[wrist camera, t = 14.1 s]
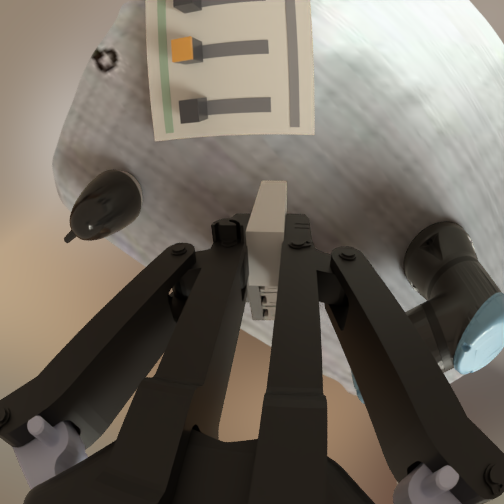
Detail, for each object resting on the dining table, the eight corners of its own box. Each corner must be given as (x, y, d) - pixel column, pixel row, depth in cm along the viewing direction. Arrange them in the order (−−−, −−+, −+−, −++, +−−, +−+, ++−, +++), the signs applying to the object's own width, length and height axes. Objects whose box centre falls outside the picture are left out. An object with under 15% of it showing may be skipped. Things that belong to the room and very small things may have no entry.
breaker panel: (305, -17, 26) (308, -40, 18) (311, 130, 39) (316, 140, 31) (159, -1, 29) (132, -14, 21) (168, 135, 41) (142, 147, 34)
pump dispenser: (94, 183, 47) (42, 219, 35) (129, 152, 44) (73, 182, 31) (124, 224, 51) (80, 270, 39) (161, 199, 48) (117, 243, 35)
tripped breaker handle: (202, 41, 29) (190, 36, 25) (203, 62, 30) (191, 59, 26) (184, 44, 29) (170, 40, 25) (185, 64, 31) (172, 62, 27)
